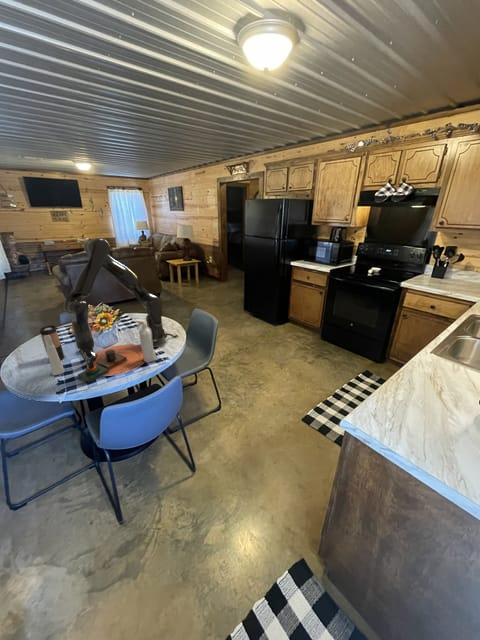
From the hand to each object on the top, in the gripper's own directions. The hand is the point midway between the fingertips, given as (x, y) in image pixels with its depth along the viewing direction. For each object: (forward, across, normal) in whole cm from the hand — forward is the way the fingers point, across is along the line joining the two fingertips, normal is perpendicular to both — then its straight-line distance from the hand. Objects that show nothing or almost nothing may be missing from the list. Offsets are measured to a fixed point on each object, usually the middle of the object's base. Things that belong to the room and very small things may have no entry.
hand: (91, 367), depth 137 cm
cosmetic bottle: (+5, +19, +8) cm, 21 cm away
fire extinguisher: (+5, -14, -26) cm, 30 cm away
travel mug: (+5, +34, +1) cm, 34 cm away
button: (+2, 0, 0) cm, 2 cm away
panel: (+5, +2, -13) cm, 14 cm away
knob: (+2, +2, -13) cm, 13 cm away
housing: (+5, 0, 0) cm, 5 cm away
